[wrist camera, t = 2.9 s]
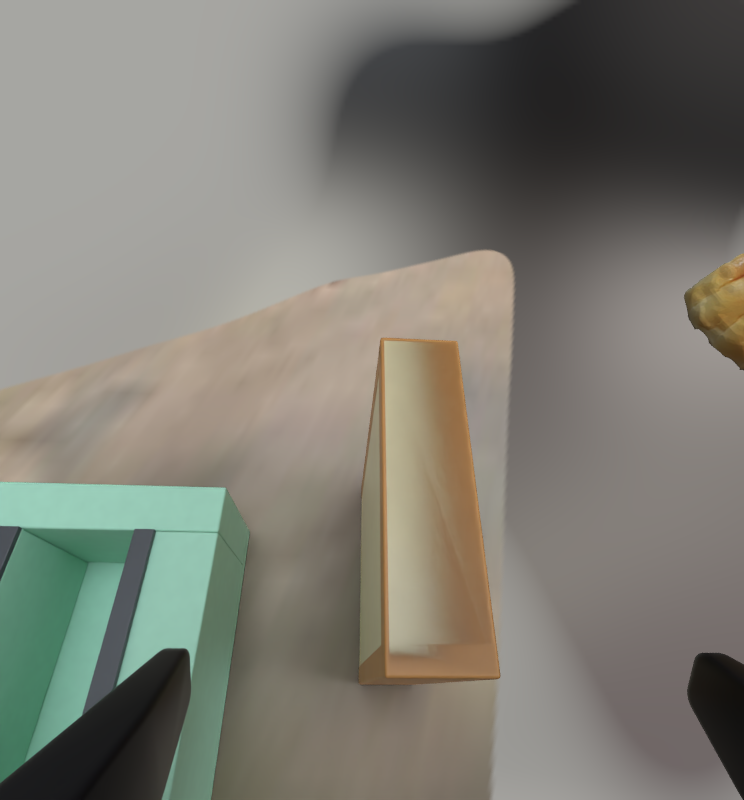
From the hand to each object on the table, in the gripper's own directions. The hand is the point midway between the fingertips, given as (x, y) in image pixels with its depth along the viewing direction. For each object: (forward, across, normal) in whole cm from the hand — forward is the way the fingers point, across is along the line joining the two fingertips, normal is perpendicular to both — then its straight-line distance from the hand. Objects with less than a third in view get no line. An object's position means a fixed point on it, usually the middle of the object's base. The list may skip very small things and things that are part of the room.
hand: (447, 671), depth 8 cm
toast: (+10, 0, +5) cm, 11 cm away
